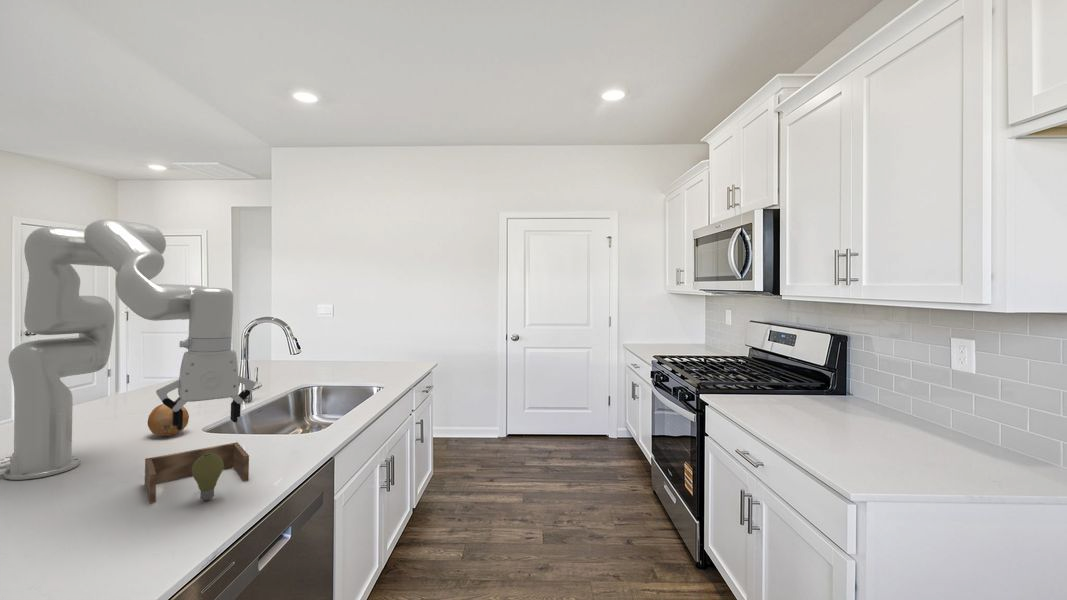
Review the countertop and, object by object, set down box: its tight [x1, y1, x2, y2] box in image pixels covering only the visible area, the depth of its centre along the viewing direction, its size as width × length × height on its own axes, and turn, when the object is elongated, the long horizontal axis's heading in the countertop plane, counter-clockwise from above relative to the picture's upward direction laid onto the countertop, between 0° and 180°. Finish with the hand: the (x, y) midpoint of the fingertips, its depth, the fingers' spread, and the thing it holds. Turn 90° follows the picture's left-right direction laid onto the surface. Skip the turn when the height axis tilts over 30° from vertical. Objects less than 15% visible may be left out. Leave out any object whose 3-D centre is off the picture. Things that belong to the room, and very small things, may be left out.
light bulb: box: [192, 454, 224, 502], centre depth 97 cm, size 6×6×10 cm
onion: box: [147, 403, 190, 437], centre depth 136 cm, size 10×10×10 cm
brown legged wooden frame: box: [144, 441, 250, 504], centre depth 105 cm, size 18×12×6 cm, turn 135°
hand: (207, 424), depth 96 cm, fingers open, 9 cm apart
